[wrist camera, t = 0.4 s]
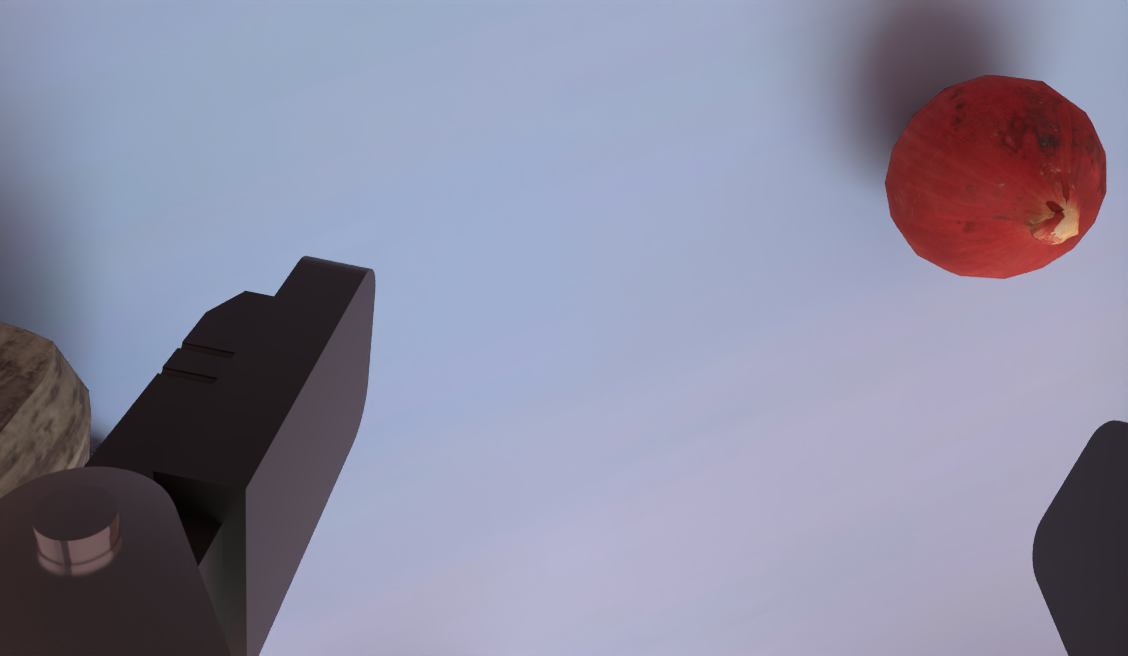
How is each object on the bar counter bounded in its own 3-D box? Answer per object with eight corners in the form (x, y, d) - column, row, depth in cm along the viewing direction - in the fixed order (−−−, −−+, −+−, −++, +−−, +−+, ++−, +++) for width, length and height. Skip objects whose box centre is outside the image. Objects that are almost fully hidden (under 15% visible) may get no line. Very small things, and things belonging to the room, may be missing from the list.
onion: (876, 49, 30) (993, 95, 23) (1049, 68, 31) (1218, 119, 24) (835, 226, 33) (931, 319, 25) (997, 241, 33) (1137, 336, 26)
